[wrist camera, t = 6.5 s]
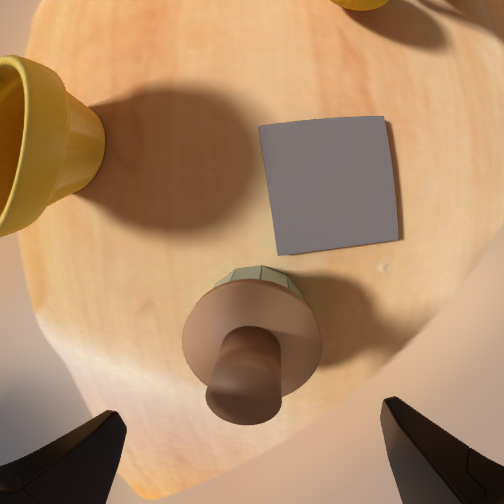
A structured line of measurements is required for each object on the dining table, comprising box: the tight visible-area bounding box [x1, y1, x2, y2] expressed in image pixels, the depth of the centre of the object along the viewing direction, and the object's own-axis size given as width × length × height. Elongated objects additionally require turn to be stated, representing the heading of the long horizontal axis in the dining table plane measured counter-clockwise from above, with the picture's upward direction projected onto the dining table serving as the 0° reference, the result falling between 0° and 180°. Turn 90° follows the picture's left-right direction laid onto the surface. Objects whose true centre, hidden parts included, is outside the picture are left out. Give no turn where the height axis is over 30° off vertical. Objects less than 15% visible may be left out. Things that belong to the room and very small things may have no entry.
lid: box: [182, 279, 322, 425], centre depth 13 cm, size 8×8×5 cm
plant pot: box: [0, 55, 105, 237], centre depth 13 cm, size 10×10×10 cm
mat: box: [258, 116, 399, 256], centre depth 17 cm, size 8×8×1 cm
